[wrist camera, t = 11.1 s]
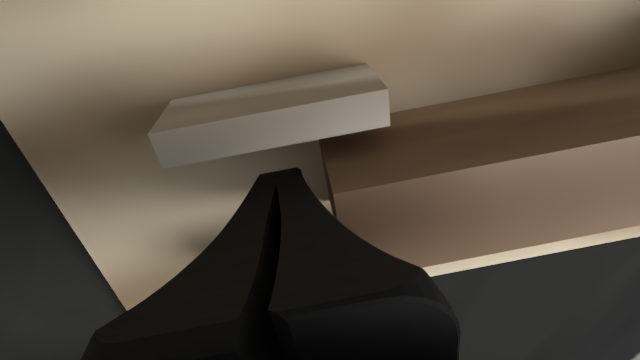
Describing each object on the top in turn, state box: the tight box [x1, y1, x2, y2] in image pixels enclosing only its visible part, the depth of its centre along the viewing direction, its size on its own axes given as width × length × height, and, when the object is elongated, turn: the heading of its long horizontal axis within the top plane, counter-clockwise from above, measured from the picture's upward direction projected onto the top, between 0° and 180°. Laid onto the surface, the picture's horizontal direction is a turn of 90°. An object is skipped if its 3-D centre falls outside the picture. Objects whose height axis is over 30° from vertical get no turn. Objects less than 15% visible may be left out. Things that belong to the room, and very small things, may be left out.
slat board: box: [0, 0, 640, 311], centre depth 10 cm, size 18×29×7 cm, turn 99°
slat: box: [319, 66, 640, 268], centre depth 11 cm, size 3×16×4 cm, turn 99°
